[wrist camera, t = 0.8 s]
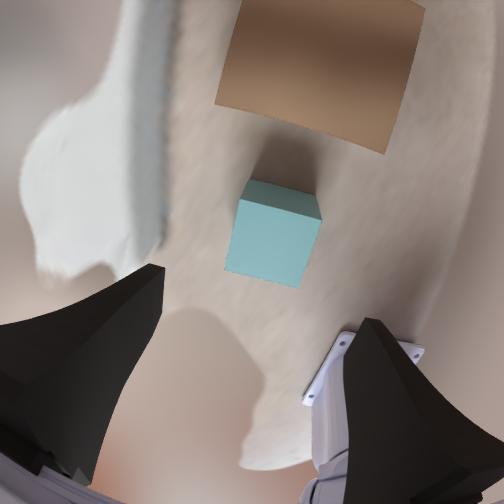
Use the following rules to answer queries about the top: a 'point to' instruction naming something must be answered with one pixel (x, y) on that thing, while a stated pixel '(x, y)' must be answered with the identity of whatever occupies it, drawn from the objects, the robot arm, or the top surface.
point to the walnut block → (323, 64)
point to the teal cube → (273, 233)
